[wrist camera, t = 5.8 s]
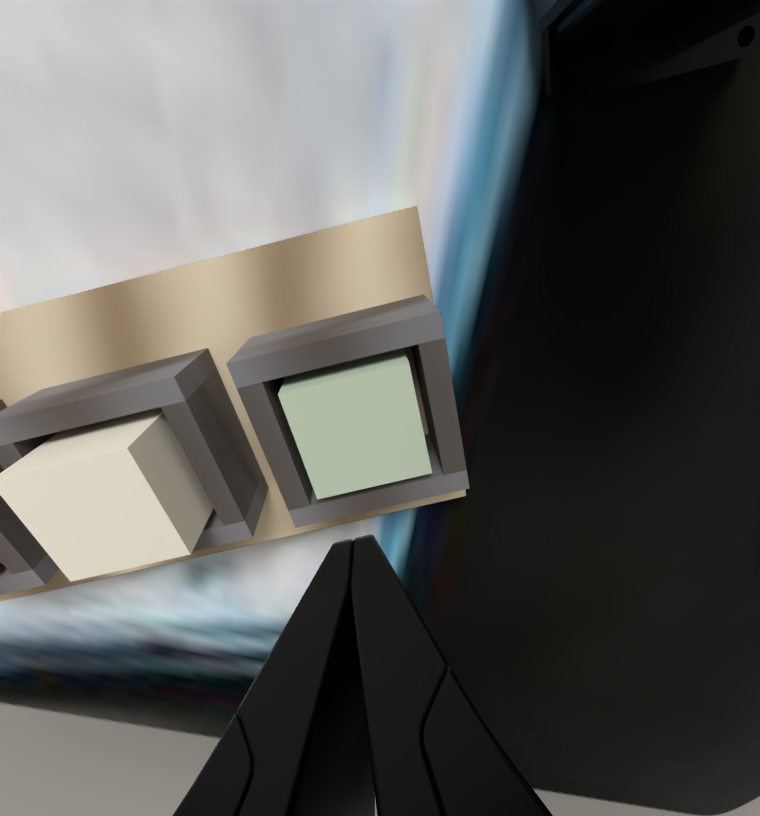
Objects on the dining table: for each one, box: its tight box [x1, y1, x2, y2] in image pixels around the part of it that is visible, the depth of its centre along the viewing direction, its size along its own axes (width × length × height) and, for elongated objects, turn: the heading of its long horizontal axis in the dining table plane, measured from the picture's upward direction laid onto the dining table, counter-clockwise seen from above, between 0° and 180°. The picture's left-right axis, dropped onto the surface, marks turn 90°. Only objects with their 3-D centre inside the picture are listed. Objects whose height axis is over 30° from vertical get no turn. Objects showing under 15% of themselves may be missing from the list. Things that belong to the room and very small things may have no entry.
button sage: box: [278, 348, 432, 500], centre depth 14 cm, size 4×4×3 cm
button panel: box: [0, 206, 469, 601], centre depth 15 cm, size 23×12×4 cm, turn 103°
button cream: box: [0, 408, 213, 582], centre depth 13 cm, size 4×4×3 cm
